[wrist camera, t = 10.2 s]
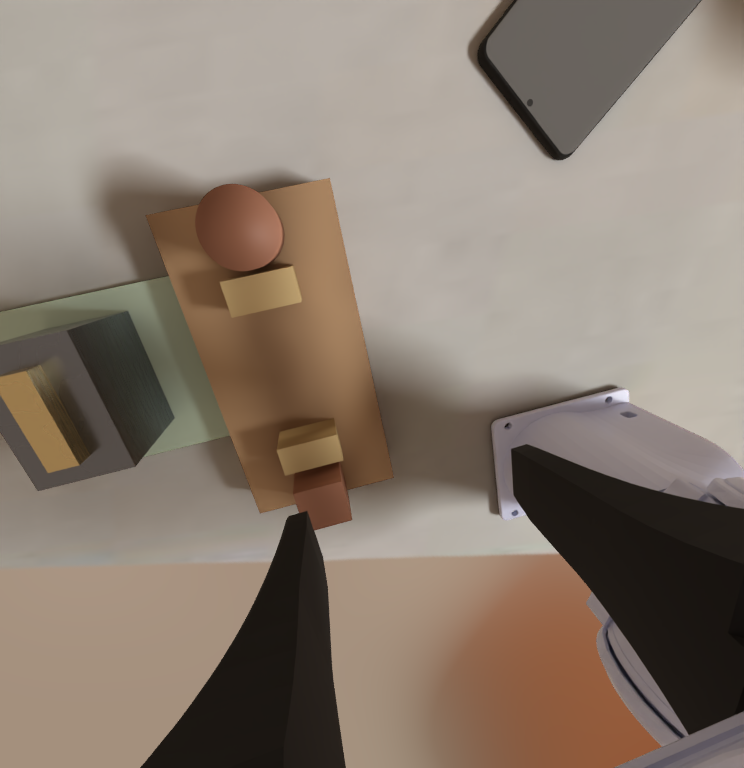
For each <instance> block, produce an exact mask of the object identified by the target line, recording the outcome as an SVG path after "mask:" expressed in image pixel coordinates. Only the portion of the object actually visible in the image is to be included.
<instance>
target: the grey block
mask: <svg viewBox="0 0 744 768" xmlns="http://www.w3.org/2000/svg"><path fill="white" fill-rule="evenodd" d="M174 418H175V417H174V415H173V412H172V410H171V408H170V405H169V403H168V401H167V399H166V396H165V394H164V392H163V389H162V387H161V385H160V383H159V380H158V378H157V376H156V373H155V371H154V369H153V367H152V364H151V362H150V360H149V358H148V355H147V353H146V351H145V348H144V346H143V344H142V342H141V339H140V337H139V335H138V332H137V330H136V328H135V326H134V323H133V321H132V319H131V316H130V314H129V312H128V311H124V312H120V313H115V314H110V315H106V316H101V317H97V318H92V319H88V320H83V321H79V322H74V323H70V324H65V325H61V326H56V327H52V328H47V329H43V330H39V331H36V332H33V333H29V334H26V335H22V336H19V337H15V338H12V339H8V340H5V341H1V342H0V432H1V434H2V435H3V437H4V439H5V440H6V442H7V443H8V445H9V446H10V448H11V450H12V451H13V453H14V454H15V456H16V457H17V459H18V461H19V462H20V464H21V465H22V467H23V468H24V470H25V472H26V473H27V475H28V476H29V478H30V479H31V481H32V483H33V484H34V486H35V487H36V489H37V490H38V491H40V490H44V489H48V488H52V487H56V486H60V485H64V484H68V483H72V482H76V481H80V480H84V479H88V478H92V477H96V476H100V475H104V474H108V473H112V472H116V471H120V470H124V469H127V468H131V467H135V466H136V465H137V464H138V463H139V461H140V460H141V459H142V458H143V457H144V455H145V454H146V453H147V452H148V450H149V449H150V448H151V447H152V445H153V444H154V443H155V442H156V441H157V439H158V438H159V437H160V436H161V434H162V433H163V432H164V431H165V429H166V428H167V427H168V426H169V425H170V423H171V422H172V421H173V420H174Z"/></svg>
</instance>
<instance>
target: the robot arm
mask: <svg viewBox="0 0 744 768" xmlns="http://www.w3.org/2000/svg"><path fill="white" fill-rule="evenodd" d="M607 397H608V399H607V400H606V398H607ZM605 400H606V401H605ZM507 423H509V425H508V426H507V427H505V425H506V424H507ZM491 432H492V442H493V453H494V463H495V473H496V484H497V494H498V505H499V514H500V516H501V518H502V519H503V520H510V519H514V518H517V517H521V516H524V515H527V516H528V518H529V519H530V520H531V522H532V523H533V524H534V525H535V526H536V527H537V529H538V530H539V531H540V532H541V533H542V534H543V535H544V537H545V538H546V539H547V540H548V541H549V542H550V543H551V544H552V546H553V547H554V548H555V549H556V550H557V551H558V552H559V553H560V555H561V556H562V557H563V558H564V559H565V560H566V561H567V562H568V564H569V565H570V566H571V567H572V568H573V569H574V570H575V571H576V572H577V574H578V575H579V576H580V577H581V578H582V580H583V581H584V582H585V583H586V584H587V586H588V587H589V588H590V590H591V591H592V593H591V595H590V597H589V599H588V600H587V603H586V604H587V605H588V607H589V608H590V609H591V611H592V612H593V613H594V614H595V616H596V617H597V618H598V619H599V621H600V622H601V623H602V625H603V626H602V627H601V629H600V630H599V632H598V634H597V640H596V642H597V649H598V652H599V655H600V658H601V661H602V663H603V665H604V667H605V670H606V672H607V674H608V677H609V679H610V681H611V683H612V685H613V686H614V688H615V690H616V691H617V693H618V694H619V696H620V698H621V699H622V701H623V702H624V703H625V705H626V706H627V707H628V709H629V710H630V711H631V712H632V714H633V715H634V716H635V718H636V719H637V720H638V721H639V722H640V724H641V725H642V726H643V727H644V728H645V729H646V730H647V731H648V733H649V734H650V735H651V736H652V737H653V738H654V739H655V740H656V741H657V742H658V743H659V744H660V745H661V746H662V747H661V748H658V749H656V750H654V751H652V752H649V753H647V754H645V755H642V756H640V757H638V758H636V759H633V760H631V761H629V762H626V763H624V764H622V765H619V766H617V767H615V768H744V469H743V468H742V467H741V466H740V465H739V464H738V463H737V461H736V460H735V459H734V458H733V457H732V456H731V455H729V454H728V453H727V452H726V451H725V450H723V449H722V448H721V447H719V446H718V445H716V444H715V443H713V442H711V441H709V440H707V439H705V438H703V437H701V436H699V435H697V434H694V433H692V432H690V431H688V430H686V429H684V428H682V427H680V426H678V425H675V424H673V423H671V422H669V421H667V420H665V419H663V418H661V417H658V416H656V415H654V414H652V413H650V412H648V411H646V410H644V409H641V408H639V407H637V406H635V405H633V404H631V403H629V391H628V390H627V389H624V388H622V387H620V388H616V389H612V390H608V391H604V392H600V393H596V394H593V395H589V396H585V397H581V398H577V399H573V400H570V401H566V402H562V403H558V404H554V405H551V406H547V407H543V408H539V409H535V410H531V411H528V412H524V413H520V414H516V415H512V416H508V417H505V418H501V419H497V420H495V421H494V422H493V423H492V425H491ZM514 510H515V511H514ZM513 511H514V512H513ZM140 768H346V766H345V760H344V753H343V746H342V739H341V732H340V725H339V718H338V711H337V704H336V697H335V689H334V682H333V672H332V660H331V641H330V621H329V602H328V586H327V580H326V573H325V568H324V561H323V556H322V553H321V550H320V547H319V544H318V541H317V538H316V535H315V532H314V529H313V526H312V523H311V520H310V517H309V514H308V511H305V512H301V513H298V514H295V515H291V516H289V517H288V518H287V520H286V523H285V526H284V530H283V533H282V536H281V539H280V542H279V545H278V548H277V550H276V553H275V556H274V558H273V561H272V563H271V566H270V568H269V571H268V573H267V576H266V578H265V580H264V583H263V584H262V587H261V589H260V591H259V593H258V595H257V597H256V600H255V602H254V604H253V606H252V608H251V610H250V612H249V614H248V616H247V617H246V619H245V621H244V623H243V625H242V627H241V628H240V630H239V632H238V634H237V635H236V637H235V639H234V641H233V642H232V644H231V645H230V647H229V649H228V650H227V652H226V654H225V655H224V657H223V659H222V660H221V662H220V663H219V665H218V666H217V668H216V670H215V671H214V672H213V674H212V675H211V677H210V678H209V680H208V681H207V682H206V684H205V685H204V687H203V688H202V690H201V691H200V692H199V694H198V695H197V697H196V698H195V700H194V701H193V702H192V704H191V705H190V706H189V708H188V709H187V711H186V712H185V713H184V715H183V716H182V717H181V719H180V720H179V721H178V722H177V724H176V725H175V726H174V728H173V729H172V730H171V731H170V732H169V734H168V735H167V736H166V737H165V738H164V740H163V741H162V742H161V743H160V745H159V746H158V747H157V748H156V749H155V751H154V752H153V753H152V755H151V756H150V757H149V758H148V759H147V761H146V762H145V763H144V764H143V765H142V766H141V767H140Z"/></svg>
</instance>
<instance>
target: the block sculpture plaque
mask: <svg viewBox="0 0 744 768" xmlns="http://www.w3.org/2000/svg"><path fill="white" fill-rule="evenodd" d="M146 218H147V220H148V223H149V226H150V228H151V231H152V233H153V236H154V239H155V241H156V244H157V246H158V249H159V252H160V254H161V257H162V259H163V262H164V265H165V267H166V270H167V272H168V275H169V278H170V280H171V283H172V285H173V288H174V291H175V293H176V296H177V298H178V301H179V304H180V306H181V309H182V311H183V314H184V317H185V319H186V322H187V324H188V327H189V330H190V332H191V335H192V337H193V340H194V343H195V345H196V348H197V350H198V353H199V356H200V358H201V361H202V363H203V366H204V369H205V371H206V374H207V376H208V379H209V382H210V384H211V387H212V390H213V392H214V395H215V397H216V400H217V403H218V405H219V408H220V410H221V413H222V416H223V418H224V421H225V423H226V426H227V429H228V431H229V434H230V436H231V439H232V442H233V444H234V447H235V449H236V452H237V455H238V457H239V460H240V462H241V465H242V468H243V470H244V473H245V475H246V478H247V481H248V483H249V486H250V488H251V491H252V494H253V496H254V499H255V501H256V504H257V507H258V509H259V512H260V513H263V512H267V511H271V510H275V509H278V508H282V507H286V506H290V505H293V504H296V505H297V508H298V511H299V513H301V512H305V511H308V514H309V517H310V520H311V523H312V526H313V529H314V530H318V529H321V528H325V527H328V526H332V525H336V524H339V523H343V522H347V521H350V520H352V516H351V510H350V503H349V497H348V491H347V490H349V489H353V488H357V487H360V486H364V485H368V484H372V483H375V482H379V481H383V480H387V479H390V478H394V476H393V471H392V467H391V462H390V457H389V453H388V448H387V443H386V439H385V434H384V429H383V425H382V420H381V415H380V411H379V406H378V401H377V397H376V392H375V387H374V383H373V378H372V373H371V369H370V364H369V359H368V355H367V350H366V345H365V341H364V336H363V331H362V327H361V322H360V317H359V313H358V308H357V303H356V299H355V294H354V289H353V285H352V280H351V275H350V271H349V266H348V261H347V257H346V252H345V247H344V243H343V238H342V233H341V229H340V224H339V219H338V215H337V210H336V205H335V201H334V196H333V191H332V187H331V182H330V178H328V179H323V180H318V181H313V182H308V183H303V184H298V185H293V186H288V187H283V188H278V189H273V190H269V191H264V192H259V193H258V192H257V191H255V190H253V189H251V188H249V187H246V186H243V185H238V184H226V185H222V186H219V187H216V188H214V189H213V190H211V191H210V192H208V193H207V194H206V195H205V196H204V198H203V199H202V200H201V202H200V204H199V205H194V206H189V207H184V208H179V209H174V210H169V211H164V212H159V213H154V214H149V215H146Z"/></svg>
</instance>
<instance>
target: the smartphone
mask: <svg viewBox="0 0 744 768" xmlns="http://www.w3.org/2000/svg"><path fill="white" fill-rule="evenodd" d="M700 2H701V0H514V1H513V2H512V4H511V5H510V6H509V8H508V9H507V10H506V11H505V13H504V14H503V15H502V17H501V18H500V19H499V21H498V22H497V23H496V25H495V26H494V27H493V29H492V30H491V31H490V32H489V34H488V35H487V36H486V38H485V39H484V40H483V42H482V43H481V45H480V47H479V50H478V62H479V64H480V66H481V67H482V68H483V70H484V71H485V72H486V74H487V75H488V76H489V77H490V79H491V80H492V81H493V83H494V84H495V85H496V86H497V88H498V89H499V90H500V92H501V93H502V94H503V96H504V97H505V98H506V99H507V101H508V102H509V103H510V105H511V106H512V107H513V108H514V110H515V111H516V112H517V114H518V115H519V116H520V117H521V119H522V120H523V121H524V122H525V124H526V125H527V126H528V127H529V129H530V130H531V131H532V132H533V134H534V135H535V136H536V137H537V139H538V140H539V141H540V142H541V144H542V145H543V146H544V147H545V149H546V150H547V151H548V152H549V154H550V155H551V156H552V157H553V158H554V159H556V160H563V159H566V158H568V157H569V156H570V155H572V153H573V152H574V151H575V150H576V149H577V148H578V146H579V145H580V144H581V143H582V142H583V140H584V139H585V138H586V137H587V136H588V135H589V133H590V132H591V131H592V130H593V129H594V127H595V126H596V125H597V124H598V123H599V122H600V120H601V119H602V118H603V117H604V116H605V114H606V113H607V112H608V111H609V110H610V108H611V107H612V106H613V105H614V104H615V103H616V101H617V100H618V99H619V98H620V97H621V95H622V94H623V93H624V92H625V91H626V89H627V88H628V87H629V86H630V85H631V84H632V82H633V81H634V80H635V79H636V78H637V76H638V75H639V74H640V73H641V72H642V70H643V69H644V68H645V67H646V66H647V65H648V63H649V62H650V61H651V60H652V59H653V57H654V56H655V55H656V54H657V53H658V52H659V50H660V49H661V48H662V47H663V46H664V44H665V43H666V42H667V41H668V40H669V38H670V37H671V36H672V35H673V34H674V33H675V31H676V30H677V29H678V28H679V27H680V25H681V24H682V23H683V22H684V21H685V19H686V18H687V17H688V16H689V15H690V14H691V12H692V11H693V10H694V9H695V8H696V6H697V5H698V4H699V3H700Z"/></svg>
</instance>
